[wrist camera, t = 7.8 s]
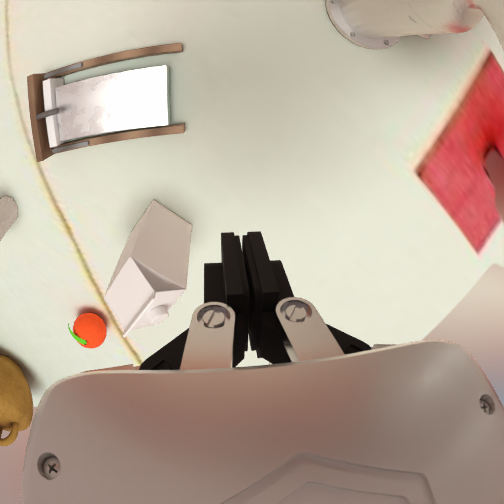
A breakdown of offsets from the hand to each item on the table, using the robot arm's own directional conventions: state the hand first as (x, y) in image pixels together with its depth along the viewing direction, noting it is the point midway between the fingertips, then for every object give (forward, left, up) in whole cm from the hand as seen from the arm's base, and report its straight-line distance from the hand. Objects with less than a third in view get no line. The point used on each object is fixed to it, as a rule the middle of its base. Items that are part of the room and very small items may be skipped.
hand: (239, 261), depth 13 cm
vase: (+68, +52, -29) cm, 90 cm away
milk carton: (+10, +13, -29) cm, 33 cm away
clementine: (+28, +31, -29) cm, 51 cm away
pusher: (+22, -7, -29) cm, 37 cm away
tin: (+10, -7, -29) cm, 32 cm away
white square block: (+18, -7, -29) cm, 35 cm away
